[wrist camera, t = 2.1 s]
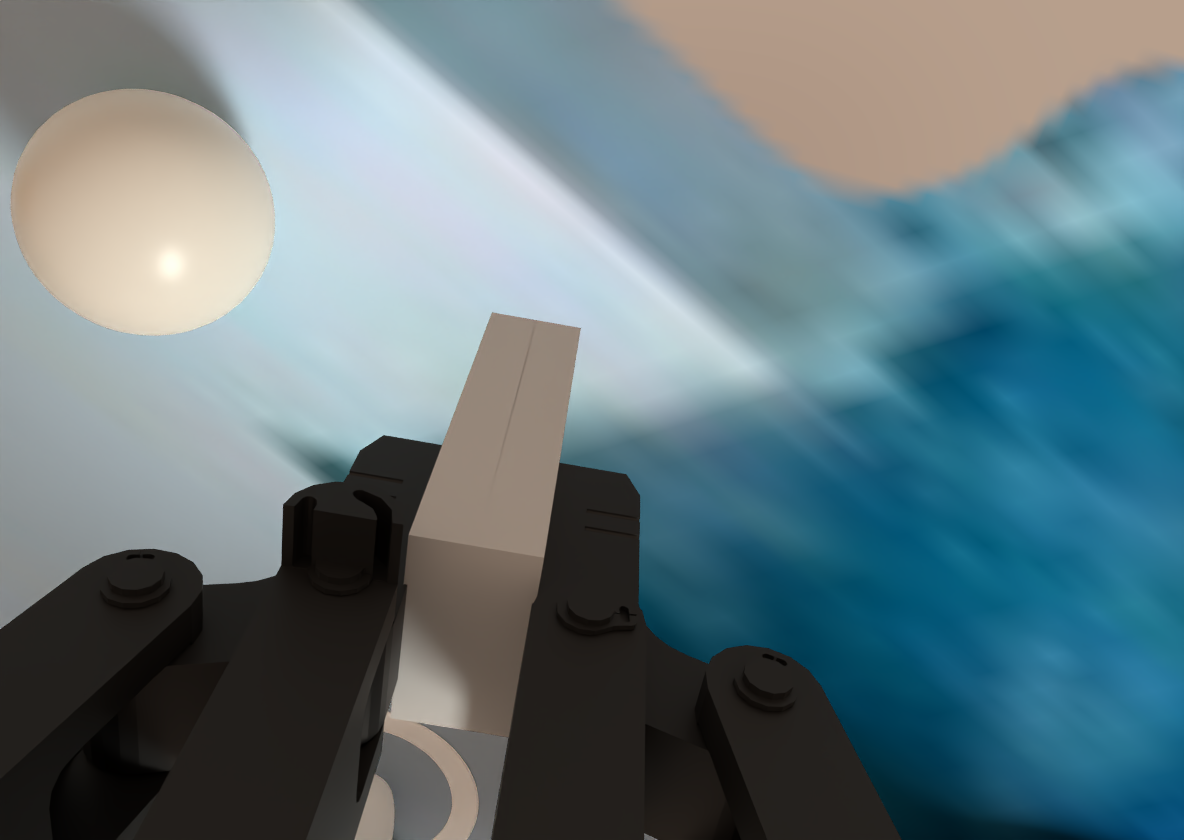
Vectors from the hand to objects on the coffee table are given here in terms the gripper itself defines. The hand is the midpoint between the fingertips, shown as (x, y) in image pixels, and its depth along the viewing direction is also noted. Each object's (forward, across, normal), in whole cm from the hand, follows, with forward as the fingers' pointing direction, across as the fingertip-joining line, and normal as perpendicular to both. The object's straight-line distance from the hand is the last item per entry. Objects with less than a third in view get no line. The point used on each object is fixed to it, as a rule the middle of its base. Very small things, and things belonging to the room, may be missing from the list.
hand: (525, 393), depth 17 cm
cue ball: (+7, +9, 0) cm, 11 cm away
